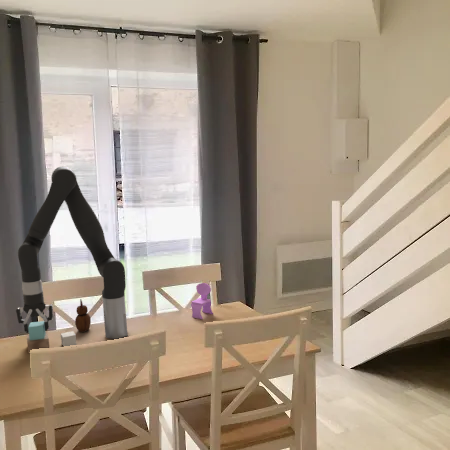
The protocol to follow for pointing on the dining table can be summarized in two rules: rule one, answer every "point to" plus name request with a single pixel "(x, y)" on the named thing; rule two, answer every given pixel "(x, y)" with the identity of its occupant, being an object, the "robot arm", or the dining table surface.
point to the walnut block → (38, 343)
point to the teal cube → (36, 330)
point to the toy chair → (201, 301)
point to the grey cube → (68, 338)
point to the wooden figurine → (82, 318)
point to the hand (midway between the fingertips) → (36, 331)
